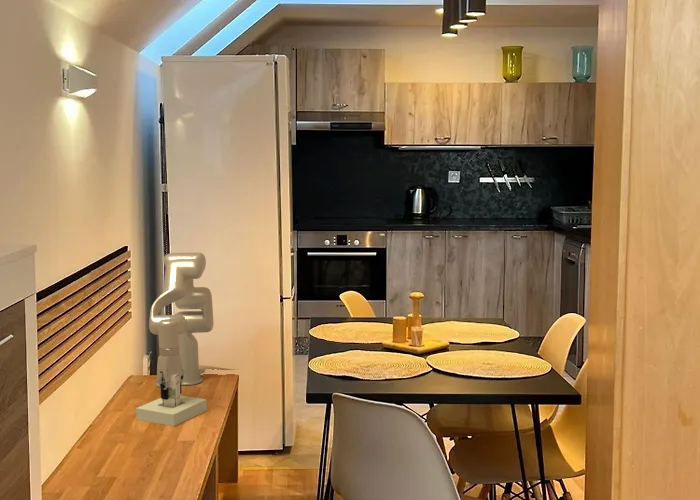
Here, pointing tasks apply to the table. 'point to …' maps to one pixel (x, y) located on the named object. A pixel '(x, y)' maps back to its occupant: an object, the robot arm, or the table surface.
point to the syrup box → (173, 392)
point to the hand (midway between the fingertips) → (171, 395)
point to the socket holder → (171, 411)
